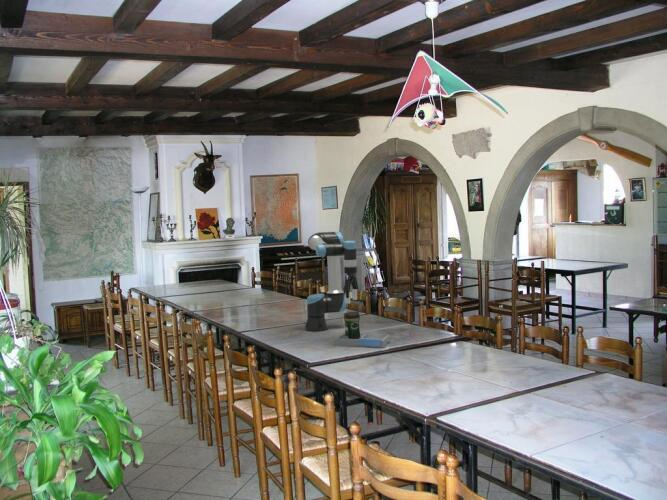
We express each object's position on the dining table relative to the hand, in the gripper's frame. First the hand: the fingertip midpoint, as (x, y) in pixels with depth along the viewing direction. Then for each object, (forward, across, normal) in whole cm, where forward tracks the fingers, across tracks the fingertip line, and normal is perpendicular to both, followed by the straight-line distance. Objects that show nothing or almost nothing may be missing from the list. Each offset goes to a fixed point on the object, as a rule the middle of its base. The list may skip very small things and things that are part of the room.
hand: (351, 301), depth 392 cm
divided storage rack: (+25, +2, +7) cm, 26 cm away
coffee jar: (+25, 0, 0) cm, 25 cm away
